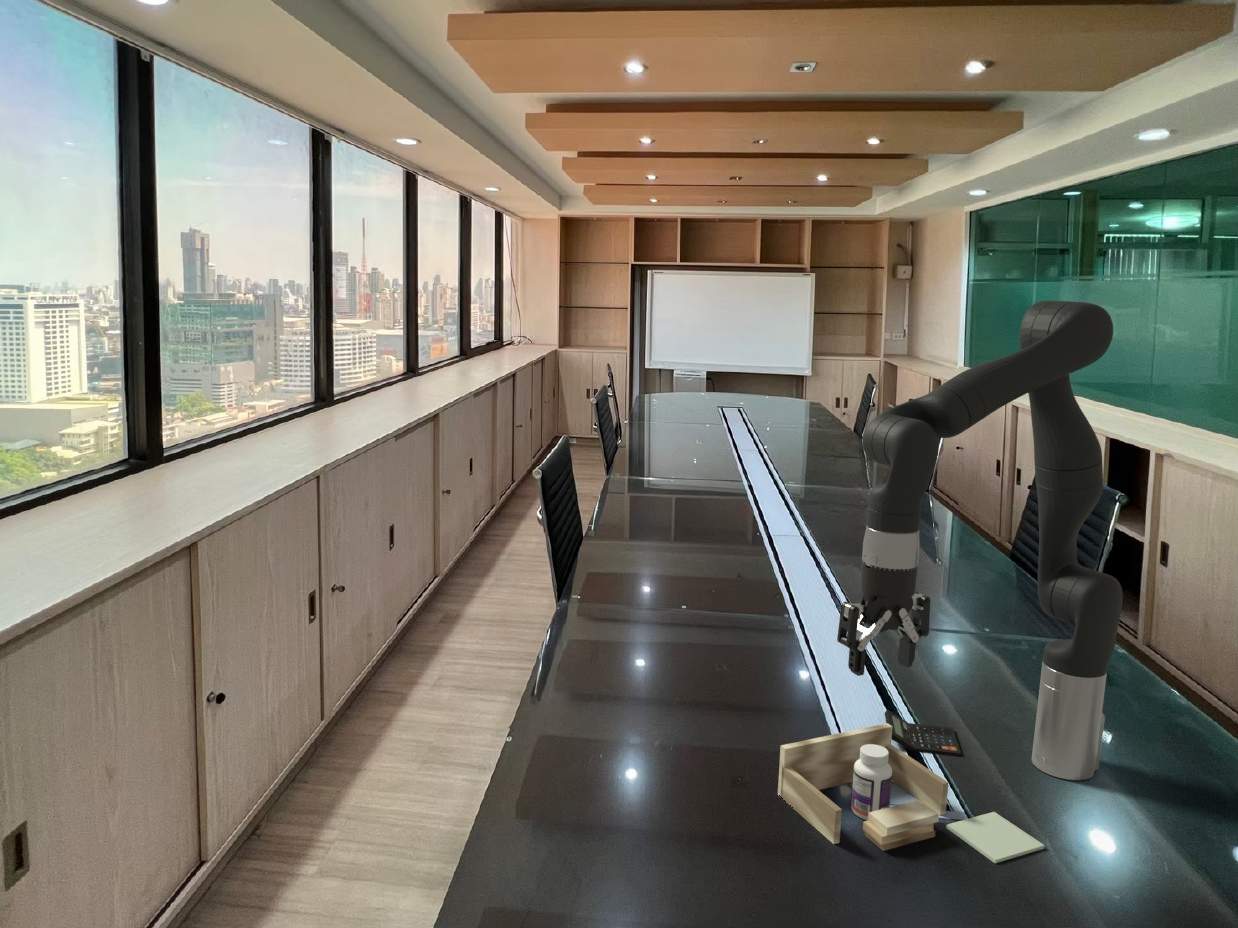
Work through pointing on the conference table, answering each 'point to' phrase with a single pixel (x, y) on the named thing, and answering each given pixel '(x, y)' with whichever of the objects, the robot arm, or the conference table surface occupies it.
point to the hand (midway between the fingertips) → (880, 669)
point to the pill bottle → (871, 781)
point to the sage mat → (995, 837)
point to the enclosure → (847, 775)
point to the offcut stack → (900, 825)
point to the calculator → (923, 736)
